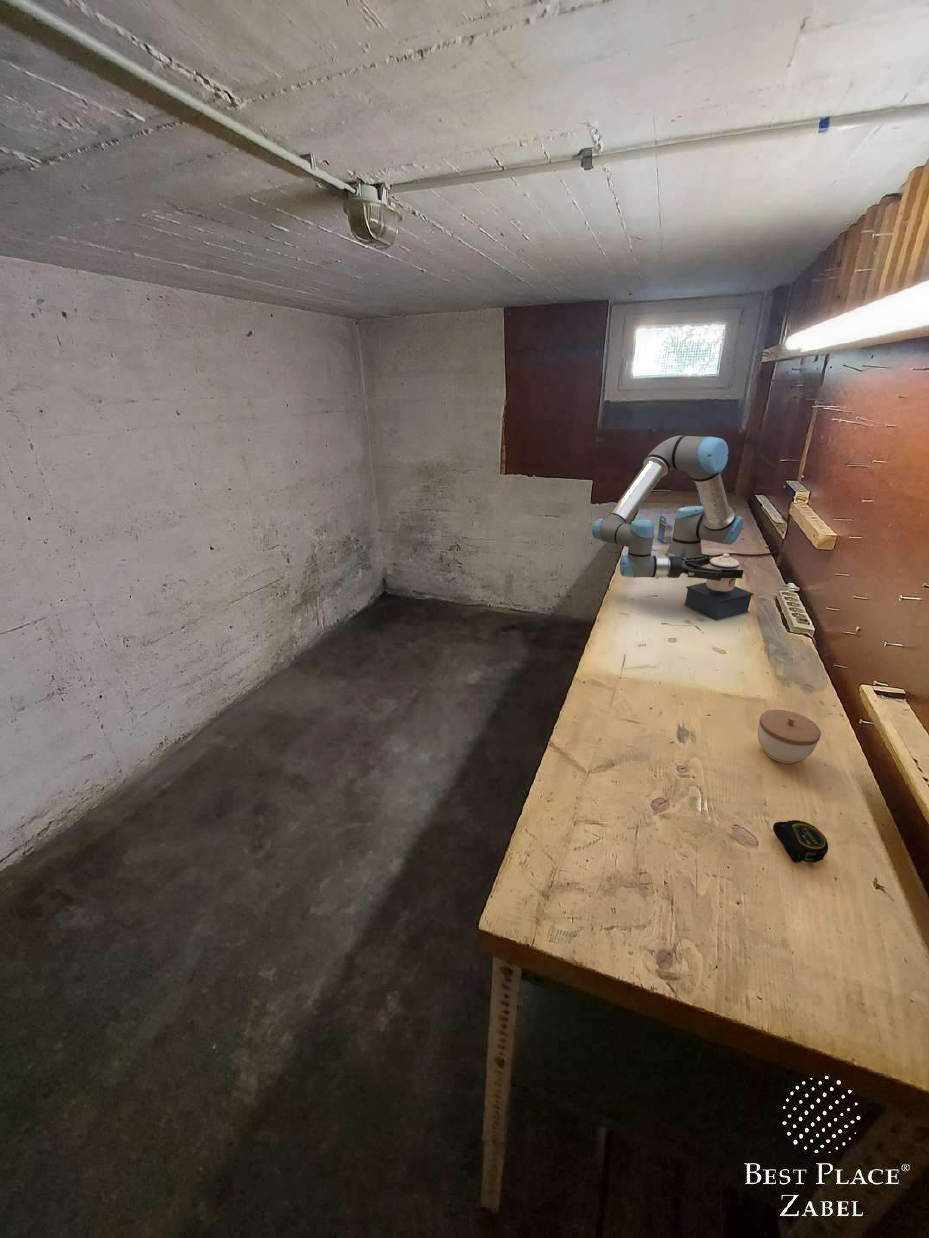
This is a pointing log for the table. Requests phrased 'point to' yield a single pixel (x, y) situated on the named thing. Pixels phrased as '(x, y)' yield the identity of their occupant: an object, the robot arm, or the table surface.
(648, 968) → the table surface
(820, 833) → the tape measure
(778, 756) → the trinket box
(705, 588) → the storage box
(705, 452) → the robot arm
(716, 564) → the teacup with lid
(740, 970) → the table surface
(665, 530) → the label tape box
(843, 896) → the table surface
